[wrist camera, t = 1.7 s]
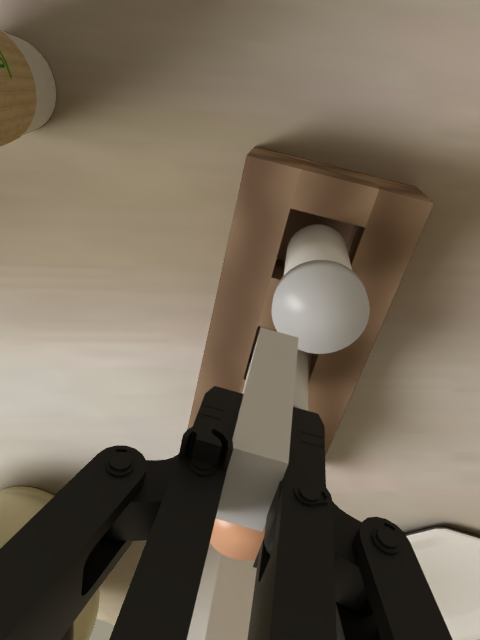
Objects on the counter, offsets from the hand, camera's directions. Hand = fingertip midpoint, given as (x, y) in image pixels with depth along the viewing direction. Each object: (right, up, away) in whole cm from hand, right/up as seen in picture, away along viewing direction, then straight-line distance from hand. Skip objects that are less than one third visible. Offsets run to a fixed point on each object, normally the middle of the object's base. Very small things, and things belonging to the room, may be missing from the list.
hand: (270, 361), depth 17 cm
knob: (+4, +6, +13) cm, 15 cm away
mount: (+3, +1, +21) cm, 22 cm away
